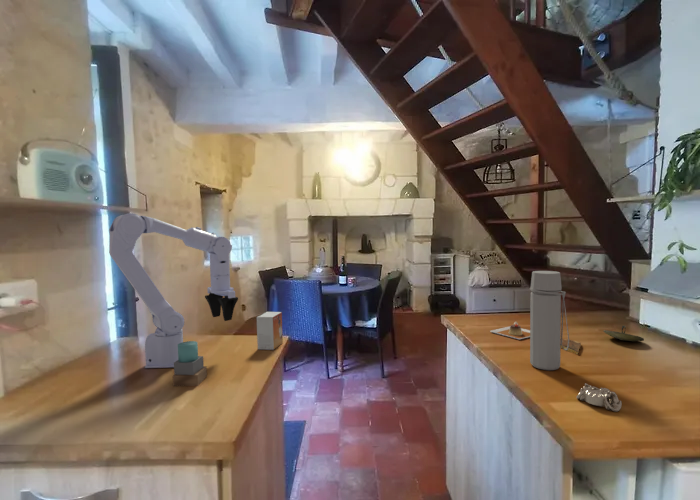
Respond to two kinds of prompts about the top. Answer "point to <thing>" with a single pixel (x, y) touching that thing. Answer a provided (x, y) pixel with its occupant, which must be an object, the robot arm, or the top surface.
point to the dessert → (512, 331)
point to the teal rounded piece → (187, 351)
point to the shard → (571, 346)
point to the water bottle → (546, 320)
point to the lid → (623, 335)
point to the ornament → (600, 397)
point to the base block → (190, 378)
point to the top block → (188, 367)
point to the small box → (269, 330)
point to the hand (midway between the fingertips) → (222, 318)
